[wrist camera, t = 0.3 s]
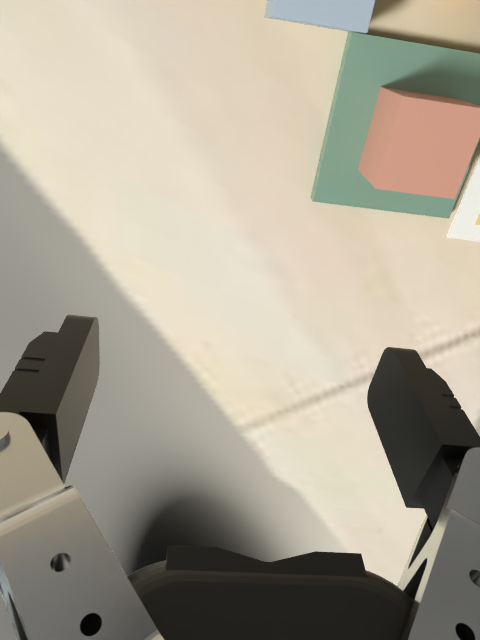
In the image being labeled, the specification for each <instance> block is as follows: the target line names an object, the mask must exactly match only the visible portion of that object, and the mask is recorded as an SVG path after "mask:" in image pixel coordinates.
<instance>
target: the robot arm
mask: <svg viewBox="0 0 480 640" xmlns="http://www.w3.org/2000/svg"><path fill="white" fill-rule="evenodd" d="M98 375H99V325H98V319H97V318H96V317H86V316H76V315H67V316H66V319H65V320H64V322H63V324H62V326H61V328H60V330H59V332H58V333H55V332H43V333H42V334H41V335H39V336H38V337H37V338H35V339H34V340H33V341H31V342H30V343H29V344H28V346H27V348H26V350H25V352H24V353H23V355H22V358H21V359H20V360H19V362H18V364H17V365H16V367H15V371H13V372H12V374H11V376H10V378H9V380H8V381H7V383H6V385H5V387H4V388H3V390H2V392H1V393H0V592H1V595H2V598H3V600H4V603H5V606H6V609H7V611H8V615H9V618H10V620H11V624H12V627H13V630H14V633H15V636H16V638H17V640H480V437H479V435H478V433H477V432H476V430H475V428H474V427H473V425H472V424H471V422H470V420H469V419H468V417H467V415H466V414H465V412H464V411H463V410H461V406H460V404H459V403H458V401H457V399H456V398H454V394H453V393H452V391H451V390H450V388H449V386H448V385H447V383H446V382H445V381H444V380H443V379H442V378H441V377H440V376H439V375H438V374H437V373H435V372H434V371H433V370H432V369H429V368H426V366H425V365H424V363H423V361H422V360H421V358H420V356H419V354H418V353H417V351H415V350H412V349H402V348H392V347H388V348H386V349H385V350H384V352H383V354H382V356H381V359H380V361H379V364H378V366H377V369H376V371H375V374H374V376H373V379H372V381H371V384H370V386H369V389H368V396H367V401H368V408H369V411H370V413H371V416H372V419H373V421H374V424H375V427H376V429H377V432H378V435H379V437H380V440H381V442H382V445H383V448H384V450H385V453H386V456H387V458H388V461H389V463H390V466H391V469H392V471H393V474H394V477H395V479H396V482H397V484H398V487H399V490H400V492H401V495H402V498H403V500H404V503H405V505H406V507H407V508H424V509H425V512H426V514H427V516H426V518H425V520H424V521H423V523H422V525H421V528H420V530H419V533H418V535H417V538H416V541H415V543H414V546H413V548H412V551H411V553H410V556H409V558H408V561H407V564H406V566H405V569H404V571H403V574H402V576H401V579H400V581H399V583H398V585H397V586H396V585H394V584H393V583H391V582H389V581H388V580H386V579H384V578H382V577H381V576H378V575H376V574H374V573H372V572H369V571H366V570H365V567H364V563H363V559H362V556H361V554H357V553H334V552H312V553H308V554H304V555H299V556H295V557H291V558H287V559H282V560H278V561H274V562H264V561H260V560H257V559H254V558H251V557H247V556H244V555H241V554H237V553H234V552H231V551H228V550H224V549H221V548H218V547H199V546H175V545H168V550H167V559H166V561H163V562H158V563H154V564H152V565H149V566H146V567H144V568H142V569H140V570H138V571H136V572H134V573H132V574H130V575H129V576H126V574H125V572H124V571H123V569H122V567H121V566H120V564H119V562H118V560H117V559H116V557H115V555H114V553H113V552H112V550H111V548H110V547H109V545H108V543H107V542H106V540H105V538H104V536H103V535H102V533H101V531H100V530H99V528H98V526H97V524H96V522H95V521H94V519H93V517H92V516H91V514H90V512H89V511H88V509H87V507H86V505H85V503H84V502H83V500H82V499H81V497H80V495H79V493H78V492H77V490H76V489H75V488H74V487H73V486H68V487H66V486H65V485H64V483H65V480H66V476H67V474H68V471H69V467H70V464H71V461H72V458H73V455H74V452H75V449H76V446H77V443H78V440H79V437H80V434H81V431H82V428H83V425H84V422H85V419H86V416H87V413H88V409H89V406H90V403H91V400H92V397H93V394H94V391H95V388H96V385H97V380H98Z"/></svg>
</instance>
